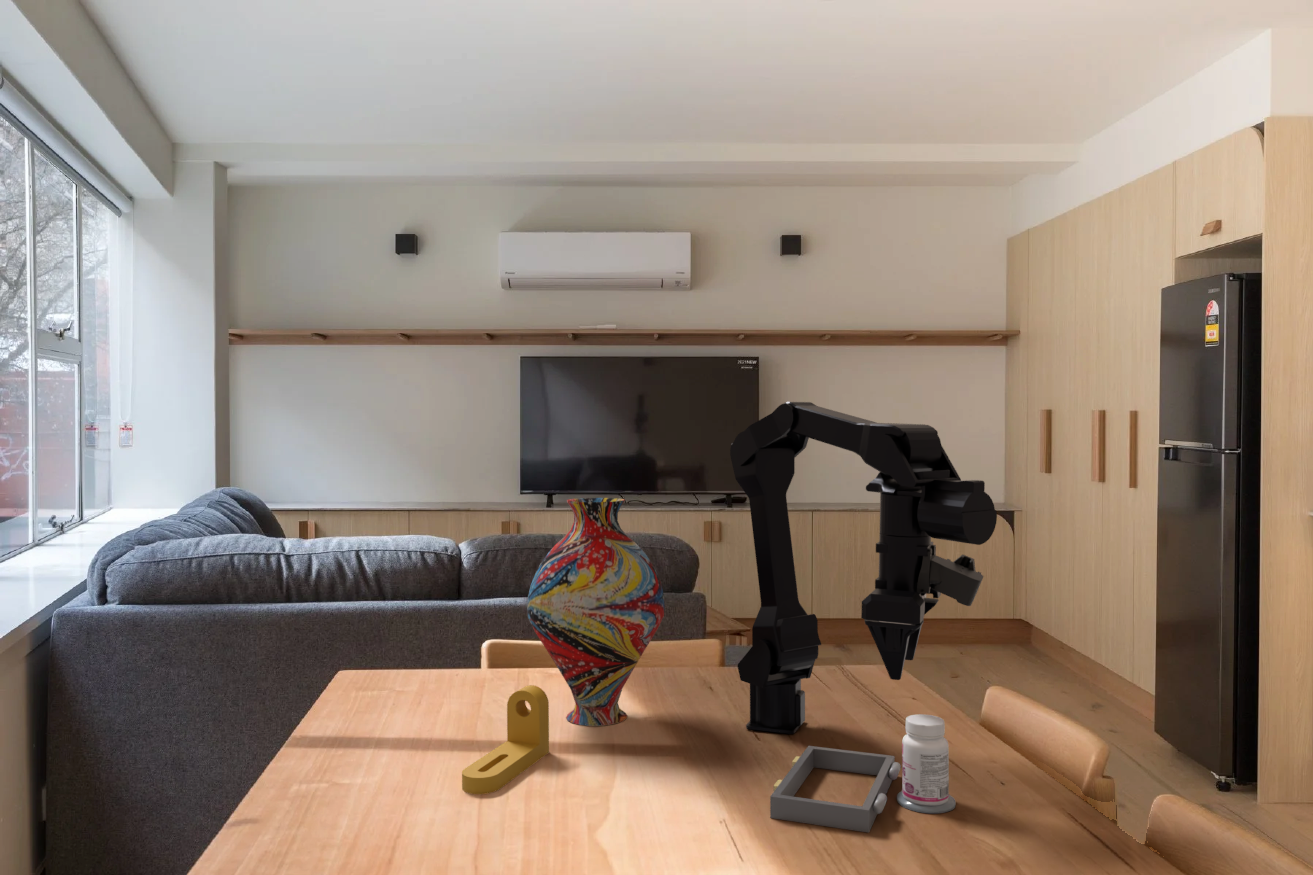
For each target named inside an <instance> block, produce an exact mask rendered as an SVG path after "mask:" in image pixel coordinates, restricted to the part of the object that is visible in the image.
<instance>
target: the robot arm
mask: <svg viewBox="0 0 1313 875" xmlns="http://www.w3.org/2000/svg"><path fill="white" fill-rule="evenodd" d="M809 439H812V440H815V441H817V442H821V443H824V444H828V445H831V446H833V447H837V448H840V449H843V450H846V451H849V452H852V453H855V454H856V455H857V456H860V458H861V459H862V461H863V462H864V464H866V465H868V466H869V467H871V468H872V469H874V470H876V471H877V472H878V474H877V475H876V477H874V479H872V480H871V481H869V482H868V484H867V485H865V490H866V492H870V493H880V494H879V496H880V497H879V498H880V499H879V500H880V501H879V538H878V539H879V540H878V542H877V543H876V542H875V553H877V554H878V577H877V578H875V580H874V588H875V589H874V590H873V591H871V592H870V593H869V594H868V595H867V596H865V598H863V600H861V619H862V620H864V625H866V626H867V628H868V630H869V632H870V635H871V636H872V638H873V641H874V643H875V645H876V648H877V650H878V652H879V654H880V657H881V660H882V662H883V665H884V666H885V669H886V671H887V673H888V674H887V675H888V676H889V678H890V680H894V681H900V680H901V679H902V675H903V670H904V665H905V662H906V661H913V660H914V658H915V654H916V651H917V650H916V649H917V646H918V642H919V637H920V633H921V630H922V626H923V624H924V621H925V620H924V617H925V615H926V614H927V613H929V612H930V611H931V610H932V609H933V608H934V607H935V606H936V605H937V604H938V602H939V598H940V597H941V595H945V596H947V597H949V598H951V599H953V600H956V602H957V603H959V604H961V605H963V606H966V607H971V606H972V604H973V602H974V601H975V598H976V596H977V593H978V591H979V589H980V587H981V583H982V581H983V578H984V577H985V576H984V575H983V574H982V572H980V571H976V563H975V562H976V561H975V558H972V557H971V556H969V555H965V554H961V555H960V556H959V557H957V558H956V559H955V560H954V561H952V560H951V559H950V558H947V559H945V558H943V557H942V556H938V555H937V546H936V544H934V541H932V539H937V540H944V541H950V542H956V543H962V544H963V543H964V544H969V545H977V546H980V545H983V544H986V543H987V541H989V540H990V538H991V537H992V536H993V534H994V532H995V530H996V526H997V520H998V519H997V518H998V512H997V510H996V508H995V504H994V501H993V499H992V498H991V496H990V495H989V494H988V493H987V492H986V491H985V481H984V480H980V479H971V480H970V479H969V480H967V479H966V480H961V477H960V475H959V473H958V472H957V470H956V468H955V467H954V464H953V463H952V461H951V460H950V457H949V456H948V454H947V453H946V451H945V449H944V446H942V442H941V438H940V436H939V434H938V430H936V428H934V427H933V426H931V425H929V424H923V423H922V424H921V423H918V424H917V423H891V422H890V423H889V422H887V423H886V422H885V423H884V422H876V421H872V420H869V419H865V418H861V417H858V416H855V415H850V414H848V413H844V412H839V411H836V410H832V409H831V408H830V409H829V408H825V407H822V406H818V405H817V404H814V403H813V402H812V401H811V402H810V401H786V402H784V403H781V404H779V405H778V406H777V408H775V409H774V410H773V411H772V412H771V413H770V414H768V415H766V416H764V417H762V418H761V419H759V420H757V421H755V422H753V423H752V424H750V425H749V426H747V428H746V429H745V430H743V431H740V432H739V433H738V434H737V435H736V436H735V439H734V440H733V442H732V443H731V444H730V448H729V456H730V460H731V465H732V469H733V474H734V478H735V480H736V482H737V483H738V484H739V486H740V487H741V489H742V491H743V492H744V493H745V495H746V496H747V498H748V501H749V508H750V509H749V510H750V516H751V518H750V519H751V526H752V535H753V545H754V551H755V552H754V553H755V561H756V562H755V564H756V569H757V579H758V586H759V587H758V590H759V596H760V607H759V611H758V613H757V615H756V617H755V620H754V621H753V622H754V623H753V625H752V628H751V631H752V632H751V634H752V636H751V639H752V640H751V645H752V646H751V648H749V650H748V651H747V652H746V654H745V655H743V657H742V658H741V660H740V661H739V662H738V663H737V670H738V676H739V678H740V681H741V682H744V683H747V684H749V721H748V722H747V723H746V724H745V728H746V729H747V730H752V731H753V730H754V731H763V732H769V733H772V732H773V733H779V734H787V735H789V734H790V735H793V734H796V732H797V731H798V730H799V729H800V727H801V726H802V725H803V723H804V722H805V721H806V691H805V690H803V689H802V680H803V679H811V677H812V672H813V669H814V665H815V662H816V660H818V658H819V646H822V641H821V639H820V637H819V631H818V630H819V629H818V626H819V624H818V618H817V616H816V613H815V614H814V613H811V614H809V613H807V612H806V610H805V609H804V608H803V606H802V604H801V603H800V600H799V599H800V598H799V593H798V583H797V576H796V569H795V568H796V567H795V559H794V552H793V543H792V534H791V524H790V518H789V508H788V501H787V493H788V490H789V488H790V485H791V483H792V480H793V478H794V476H795V473H796V472H795V470H796V468H795V466H796V464H795V463H796V462H795V458H796V457H798V455H799V454H801V453H802V452H803V451H804V450H805V449H806V448H807V446H808V442H809ZM929 594H930V595H932V597H927V595H929Z"/></svg>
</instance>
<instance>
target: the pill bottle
mask: <svg viewBox="0 0 1313 875" xmlns="http://www.w3.org/2000/svg"><path fill="white" fill-rule="evenodd" d="M945 725H946V724H945V720H944V719H943V718H941V717H940V716H936V715H932V714H923V713H922V714H921V713H920V714H919V713H918V714H911V715H908V716H906V718H905V733H906V734H905V735H904V736H903V738H902V741H901V752H902V753H901V758H902V759H901V760H902V763H901V765H902V766H901V768H902V772H901V773H902V776H901V777H902V780H901V781H902V784H901V785H902V788H901V791H902V792H903V796H904V798H905V799H906V800H908V801H909V802H911V803H914V804H918V805H926V806H937V805H942V804H944V803H946V802H947V801H948V798H949V795H950V793H949V792H950V790H949V786H950V783H949V781H950V780H949V774H950V773H949V771H950V770H949V768H950V767H949V766H950V765H949V764H950V763H949V759H950V758H949V748H950V746H949V741H948V739H947V738H945V737H944V736H945V734H946V732H945V729H946V728H945Z"/></svg>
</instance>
